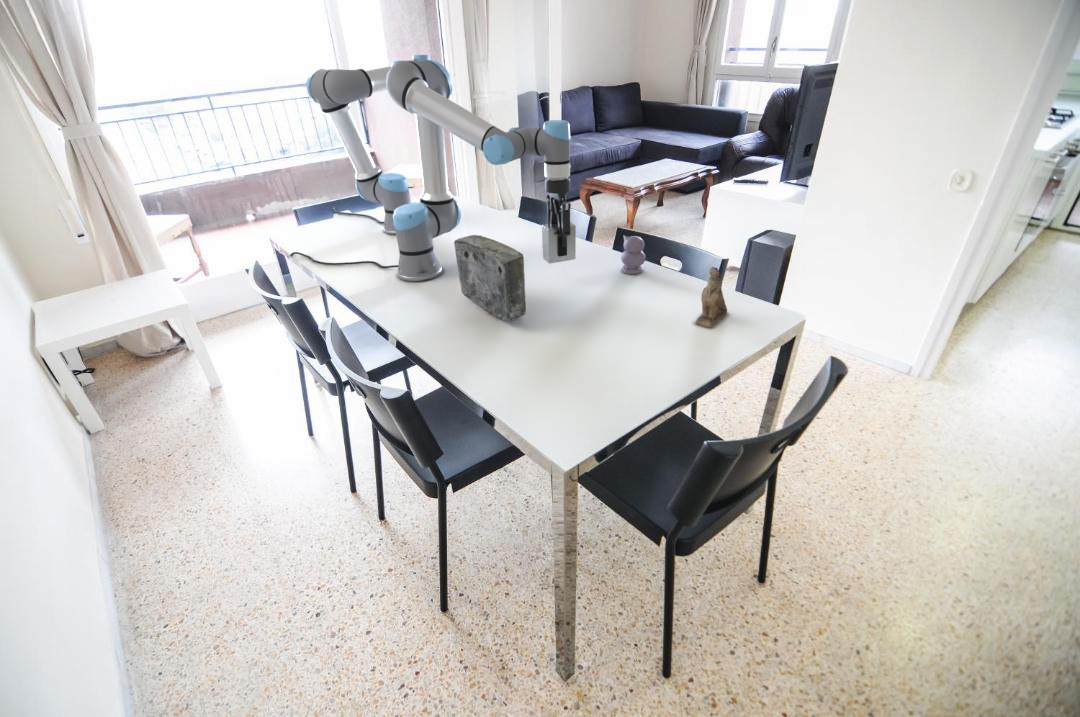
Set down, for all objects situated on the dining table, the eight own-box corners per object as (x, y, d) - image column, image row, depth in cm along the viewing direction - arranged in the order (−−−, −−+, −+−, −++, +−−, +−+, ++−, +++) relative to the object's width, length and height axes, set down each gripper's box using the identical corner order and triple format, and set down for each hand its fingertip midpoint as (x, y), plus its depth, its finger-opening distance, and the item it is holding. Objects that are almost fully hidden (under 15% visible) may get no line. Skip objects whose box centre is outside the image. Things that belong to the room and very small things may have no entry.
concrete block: (533, 322, 141) (530, 255, 130) (507, 332, 136) (501, 263, 126) (485, 293, 159) (479, 232, 149) (460, 300, 155) (452, 238, 145)
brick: (549, 263, 158) (548, 229, 152) (542, 258, 162) (541, 224, 156) (575, 259, 160) (575, 225, 155) (568, 253, 165) (568, 220, 159)
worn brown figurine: (709, 335, 136) (713, 280, 124) (691, 329, 139) (693, 274, 128) (730, 313, 142) (736, 258, 130) (712, 307, 145) (716, 253, 133)
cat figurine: (649, 270, 171) (652, 236, 165) (636, 276, 167) (638, 242, 160) (628, 264, 176) (630, 231, 170) (615, 271, 172) (617, 237, 165)
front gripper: (582, 182, 142) (581, 259, 154) (556, 171, 157) (557, 242, 169) (558, 185, 139) (559, 263, 152) (534, 173, 154) (537, 246, 166)
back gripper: (439, 94, 219) (446, 146, 230) (429, 92, 239) (435, 140, 250) (422, 96, 216) (430, 148, 228) (413, 93, 236) (420, 141, 248)
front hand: (558, 252), depth 160 cm, fingers closed on brick, 5 cm apart
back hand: (433, 144), depth 239 cm, fingers open, 13 cm apart
